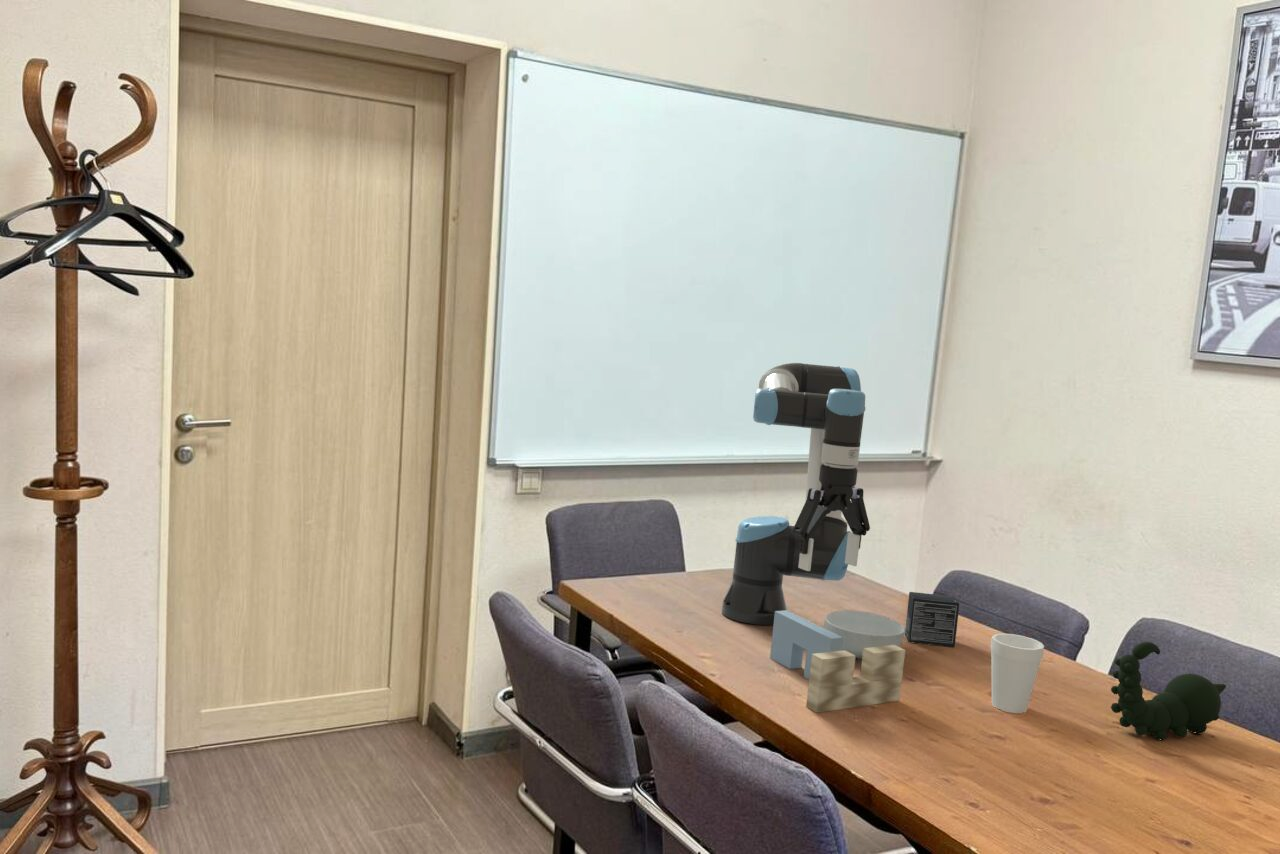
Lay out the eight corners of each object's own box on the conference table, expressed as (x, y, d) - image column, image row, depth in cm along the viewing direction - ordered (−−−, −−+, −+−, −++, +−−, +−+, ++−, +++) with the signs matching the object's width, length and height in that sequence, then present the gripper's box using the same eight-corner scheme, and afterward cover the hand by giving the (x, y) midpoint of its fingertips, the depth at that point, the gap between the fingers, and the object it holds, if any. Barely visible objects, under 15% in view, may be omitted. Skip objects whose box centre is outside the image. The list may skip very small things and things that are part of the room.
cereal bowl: (817, 658, 225) (820, 625, 224) (825, 636, 241) (828, 605, 240) (899, 672, 220) (903, 639, 220) (902, 649, 236) (906, 618, 236)
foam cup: (1034, 704, 209) (1043, 639, 207) (1035, 720, 200) (1044, 652, 198) (983, 694, 212) (992, 630, 210) (982, 709, 203) (991, 643, 201)
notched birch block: (816, 712, 194) (822, 659, 193) (806, 706, 196) (812, 653, 195) (899, 700, 204) (905, 649, 202) (888, 695, 206) (894, 644, 205)
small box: (950, 639, 247) (955, 595, 246) (955, 648, 241) (961, 603, 239) (903, 634, 248) (908, 590, 247) (907, 642, 242) (913, 597, 240)
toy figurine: (1134, 756, 191) (1242, 737, 199) (1141, 654, 188) (1251, 639, 196) (1096, 734, 200) (1202, 717, 208) (1103, 637, 197) (1209, 623, 205)
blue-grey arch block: (769, 658, 222) (774, 611, 221) (781, 656, 224) (786, 610, 222) (825, 688, 207) (831, 638, 205) (837, 687, 208) (843, 637, 207)
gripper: (808, 469, 208) (797, 576, 210) (894, 467, 223) (882, 566, 225) (781, 463, 214) (771, 566, 216) (867, 461, 229) (855, 558, 231)
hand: (827, 567), depth 221 cm, fingers open, 13 cm apart
